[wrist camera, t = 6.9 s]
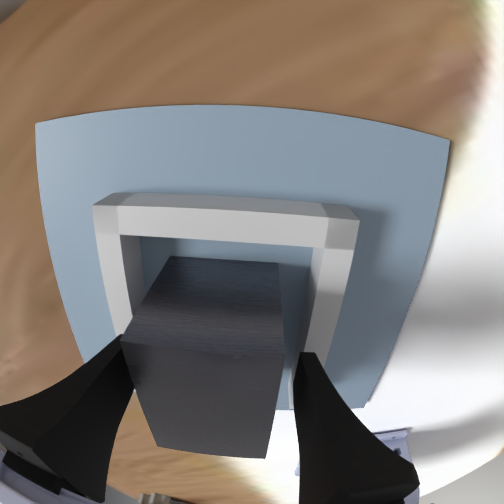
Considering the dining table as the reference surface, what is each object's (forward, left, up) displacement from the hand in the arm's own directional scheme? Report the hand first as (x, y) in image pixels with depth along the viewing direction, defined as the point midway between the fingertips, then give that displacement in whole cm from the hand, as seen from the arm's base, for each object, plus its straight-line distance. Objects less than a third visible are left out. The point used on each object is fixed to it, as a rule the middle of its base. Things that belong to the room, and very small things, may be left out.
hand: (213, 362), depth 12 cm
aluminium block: (0, 0, -3) cm, 3 cm away
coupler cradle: (0, 0, -4) cm, 4 cm away
